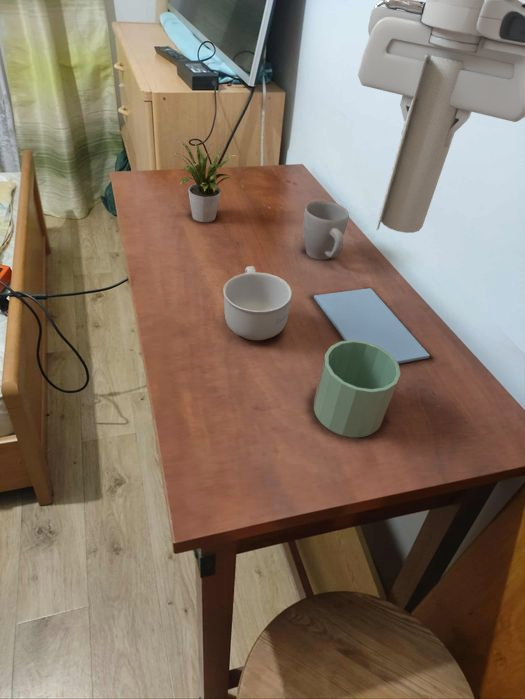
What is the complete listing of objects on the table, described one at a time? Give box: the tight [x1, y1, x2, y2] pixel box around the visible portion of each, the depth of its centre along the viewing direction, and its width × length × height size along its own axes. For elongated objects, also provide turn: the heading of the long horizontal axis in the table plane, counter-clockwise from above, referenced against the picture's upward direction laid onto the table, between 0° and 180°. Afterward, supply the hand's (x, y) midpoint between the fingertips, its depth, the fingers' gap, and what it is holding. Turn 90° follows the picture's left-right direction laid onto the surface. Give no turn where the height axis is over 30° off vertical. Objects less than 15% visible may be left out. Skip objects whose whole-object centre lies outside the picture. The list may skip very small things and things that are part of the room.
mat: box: [313, 287, 431, 365], centre depth 89 cm, size 20×12×1 cm, turn 20°
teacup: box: [222, 265, 293, 341], centre depth 84 cm, size 14×11×8 cm
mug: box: [302, 200, 350, 261], centre depth 103 cm, size 12×9×10 cm
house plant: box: [171, 139, 239, 223], centre depth 109 cm, size 14×14×16 cm
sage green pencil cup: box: [313, 340, 401, 438], centre depth 70 cm, size 10×10×9 cm
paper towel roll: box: [376, 54, 465, 234], centre depth 65 cm, size 7×6×21 cm
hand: (425, 140), depth 64 cm, fingers closed on paper towel roll, 3 cm apart
